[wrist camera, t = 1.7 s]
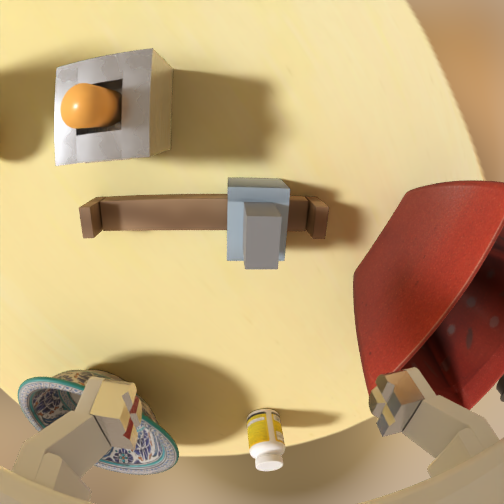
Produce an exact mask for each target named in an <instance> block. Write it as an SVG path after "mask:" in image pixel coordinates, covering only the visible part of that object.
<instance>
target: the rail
mask: <svg viewBox="0 0 504 504" xmlns="http://www.w3.org/2000/svg"><path fill="white" fill-rule="evenodd" d="M227 209H228V194H169V195H135V196H112V197H96V198H94V199H92V200H91V201H89V202H87V203H86V204H84V205H83V206H81V207H79V212H80V219H81V226H82V233H83V238H94V237H95V236H96V235H98V234H99V233H100V232H101V231H102V230H103V231H120V230H227ZM328 212H329V207H328V206H327V205H326V204H325V203H324V202H322V201H321V200H320V199H319V198H317V197H310V196H305V197H304V196H290V198H289V212H288V224H287V231H306V230H307V231H308V233H309V234H310V235H311V237H312V238H313V239H325V236H326V229H327V221H328Z"/></svg>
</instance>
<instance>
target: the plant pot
mask: <svg viewBox="0 0 504 504" xmlns="http://www.w3.org/2000/svg"><path fill="white" fill-rule="evenodd" d="M353 298H354V315H355V325H356V333H357V340H358V346H359V352H360V357H361V362H362V367H363V373H364V377H365V381H366V386H367V390H368V394H369V395H370V393H371V390H373V389H374V388H375V387H376V386H377V385H376V383H375V381H376V379H377V377H378V376H379V375H380V374H384V373H389V372H394V371H399V370H404V369H409V368H413V367H415V368H417V369H418V370H419V371H420V372H421V374H422V375H423V377H424V378H425V380H426V381H427V382H428V384H429V385H430V387H431V388H432V390H433V391H434V393H435V394H436V396H438V395H441V396H443V397H444V398H446V399H448V400H450V401H452V402H454V403H456V404H458V405H460V406H462V407H464V408H466V409H468V410H470V409H471V408H472V407H473V406H474V405H475V404H476V403H477V402H478V401H479V400H480V399H481V398H482V397H483V396H484V395H485V394H486V393H487V392H488V391H489V390H490V389H491V388H492V387H493V386H494V385H495V383H496V382H497V381H498V380H499V379H500V378H501V377H502V375H503V374H504V183H503V182H495V181H452V182H443V183H436V184H432V185H427V186H423V187H419V188H415V189H413V190H410V191H408V192H407V193H406V194H405V196H404V197H403V199H402V200H401V202H400V204H399V205H398V207H397V209H396V210H395V212H394V213H393V215H392V217H391V218H390V220H389V221H388V223H387V225H386V226H385V228H384V229H383V231H382V232H381V234H380V235H379V237H378V238H377V240H376V241H375V243H374V244H373V246H372V247H371V249H370V250H369V252H368V253H367V255H366V256H365V258H364V259H363V261H362V262H361V263H360V265H359V266H358V268H357V269H356V271H355V273H354V278H353Z"/></svg>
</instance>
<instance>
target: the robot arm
mask: <svg viewBox="0 0 504 504" xmlns="http://www.w3.org/2000/svg"><path fill="white" fill-rule="evenodd" d="M375 383H376V385H377V386H376V387H375V388H374V389H373V390H371V393H370V395H369V407H370V410H371V413H372V414H373V415H374V416H376V417H377V418H378V420H377V423H376V424H377V426H378V428H379V430H380V432H381V434H382V437H383V436H388V435H392V434H396V433H399V432H402V433H403V434H404V435H405V436H407V437H408V438H409V439H411V440H412V441H413V442H415V443H416V444H417V445H419V446H420V447H421V448H423V449H424V450H425V451H426V452H428V453H429V454H430V455H432V456H433V457H435V458H436V459H435V460H434V461H433V462H432V463H431V464H430V465H429V466H428V468H427V470H428V473H429V475H430V477H431V478H429V479H427V480H425V481H422V482H420V483H418V484H415V485H413V486H410V487H407V488H405V489H402V490H400V491H397V492H394V493H391V494H388V495H385V496H382V497H379V498H376V499H372V500H369V501H365V502H362V503H358V504H504V438H502V439H501V440H499V438H498V437H497V435H496V434H495V432H494V431H493V429H492V428H491V427H490V425H489V424H488V422H487V421H486V419H485V418H484V417H482V416H480V415H478V414H476V413H474V412H472V411H470V410H468V409H466V408H464V407H462V406H460V405H458V404H456V403H454V402H452V401H450V400H448V399H446V398H444V397H443V396H441V395H438V396H436V394H435V393H434V391H433V390H432V388H431V387H430V385H429V384H428V382H427V381H426V380H425V378H424V377H423V375H422V374H421V372H420V371H419V370H418V369H417V368H415V367H413V368H409V369H404V370H399V371H394V372H389V373H384V374H380V375H379V376H378V377H377V379H376V381H375ZM136 392H137V389H136V386H135V383H132V382H125V381H118V380H112V379H106V378H99V377H93V376H92V377H91V378H90V379H89V380H88V382H87V384H86V386H85V389H84V391H83V393H82V395H81V398H80V400H79V402H78V405H77V407H76V409H75V411H70V412H68V413H67V414H65V415H64V416H62V417H61V418H59V419H58V420H56V421H55V422H53V423H52V424H50V425H49V426H47V427H46V428H44V429H43V430H41V431H40V432H38V433H37V434H35V435H34V436H32V437H31V438H29V439H27V440H26V441H24V443H23V445H22V447H21V449H20V452H19V454H18V456H17V459H16V461H15V464H14V466H13V468H12V471H9V470H8V469H5V468H4V467H2V466H0V504H96V503H92V502H90V497H91V490H90V488H89V487H87V485H86V484H85V483H84V482H83V481H82V480H81V479H80V478H81V477H82V476H84V475H85V474H86V472H87V471H89V470H90V469H91V468H92V467H93V466H94V465H95V464H96V463H97V462H98V461H99V460H100V459H101V458H102V457H103V456H104V455H105V454H106V453H107V452H108V451H109V450H110V449H111V447H117V448H124V449H131V450H135V447H136V442H137V438H138V433H137V431H136V427H138V426H139V425H140V424H141V419H142V405H141V401H140V399H139V398H138V397H137V396H136Z"/></svg>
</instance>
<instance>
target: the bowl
mask: <svg viewBox="0 0 504 504" xmlns="http://www.w3.org/2000/svg"><path fill="white" fill-rule="evenodd" d="M92 376H93V377H99V378H106V379H112V380H118V381H124V380H123V379H121V378H119V377H117V376H115V375H113V374H111V373H108V372H105V371H101V370H87V371H86V370H71V371H66V372H62V373H60V374H58V375H55V376H53V377H52V378H51V377H34V378H30V379H27V380H25V381H24V382H23V383H22V384H21V385H20V387H19V390H18V400H19V404H20V406H21V409H22V411H23V413H24V414H25V416H26V417H27V419H28V420H29V421H30V422H31V424H32V425H33V426H34V427H35V428H36V429H37V430H38V431H39V432H40V431H41V430H43V429H44V428H46V427H47V426H49V425H50V424H52V423H53V422H55V421H56V420H58V419H59V418H61V417H62V416H64V415H65V414H67V413H68V412H70V411H75V409H76V407H77V405H78V402H79V400H80V398H81V395H82V393H83V391H84V389H85V386H86V384H87V382H88V380H89V379H90V378H91V377H92ZM136 396H137V397H138V398H139V399H140V401H141V405H142V419H141V424H140V425H139V426H138V427H136V431H137V433H138V438H137V442H136V447H135V450H131V449H124V448H117V447H111V449H110V450H109V451H108V452H107V453H106V454H105V455H104V456H103V457H102V458H101V459H100V460H99V461H98V462H97V463H96V464H95V465H94V466H97V467H100V468H103V469H107V470H111V471H115V472H120V473H127V474H138V475H146V474H147V475H148V474H156V473H160V472H164V471H166V470H168V469H170V468H172V467H173V466H174V465H175V464H176V462H177V461H178V457H179V451H178V447H177V445H176V443H175V441H174V440H173V439H172V437H171V436H170V435H169V434H168V433H167V432H166V431H165V430H164V429H163V428H162V427H160V426H159V425H158V422H157V420H156V417H155V415H154V413H153V412H152V410H151V408H150V407H149V406H148V404H147V403H146V402H145V401H144V400H143V399H142V398H141V397H140V396H139V395H138V394H137V393H136Z"/></svg>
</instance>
